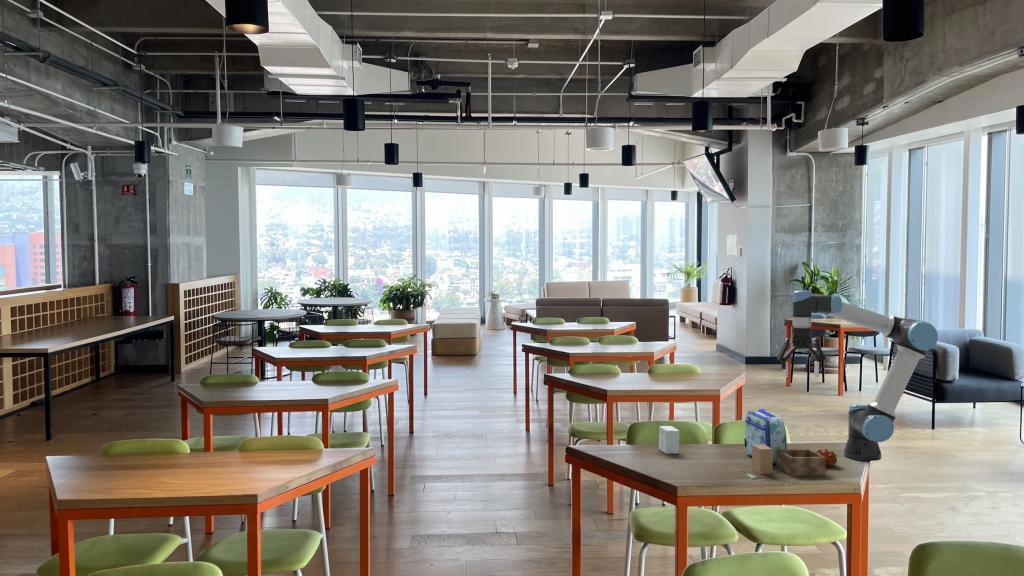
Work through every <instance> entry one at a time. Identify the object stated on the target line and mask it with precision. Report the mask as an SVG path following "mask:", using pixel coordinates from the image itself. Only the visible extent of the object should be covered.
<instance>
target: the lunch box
mask: <svg viewBox="0 0 1024 576" xmlns="http://www.w3.org/2000/svg"><path fill="white" fill-rule="evenodd" d="M746 412H747V413H746V416H745V417H746V418H745V419H744V422H745V423H744V424H745V425H744V426H745V438H744V448H746V452H747V455H748V456H750V457H752V445H763V444H764V445H766V446H768V447H770V448H771V449H772V465H774V464H775V465H776V458H777V450H784V449H787V446H788V445H787V431H786V430H787V429H786V425H785V422H784V419H782V417H780V416H778V415H776V414H775V413H773V412H770V411H767V410H766V409H765V408H759V409H758V410H753V411H752V410H751V411H746Z"/></svg>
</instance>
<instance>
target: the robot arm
mask: <svg viewBox="0 0 1024 576" xmlns="http://www.w3.org/2000/svg"><path fill="white" fill-rule="evenodd" d="M813 314H823V315H827V316H829V317H832V318H836V319H838V320H842V321H845V322H848V323H850V324H854V325H856V326H858V327H863V328H866V329H869V330H872V331H874V332H877V333H880V334H882V336H883V337H885V338H889V339H891V340H893V341H896V342H897V343H896V348H897V352H896V355H895V356H894V359H893V360H892V363H891V364H890V367H889V369H888V370H887V373H886V375H885V377H884V379H883V382H882V384H881V386H880V388H879V389H878V392H877V394H876V396H875V399H874V400H873V401H871V402H869V403H868V404H850V405H849V406H848V411H847V413H848V425H847V426H848V436H847V437H848V438H847V440H846V443H845V446H844V449H843V456H844V457H845V458H847V459H851V460H857V461H863V460H867V461H868V460H869V461H868V462H875V461H880V460H882V451H881V448H880V445H879V443H883V442H885V441H888V440H889V439H890V438H891V437H892V436H893V434H894V431H895V425H894V422H895V420H896V418H897V415H896V412H895V410H896V408H897V406H898V404H899V403H900V400H901V398H902V396H903V394H904V391H905V389H906V387H907V385H908V384H909V381H910V379H911V378H912V375H913V373H914V371H915V369H916V367H917V365H918V363H919V361H920V360H922V359H924V358H926V356H927V354H928V351H929V350H931V349H933V348H934V347H936V345H937V343H938V341H939V334H938V330H937V329H936V327H935V326H934V325H933V324H931V323H930V322H927V321H926V320H917V319H913V318H910V319H909V318H904V317H903V318H902V317H898V316H894V315H891V314H890V315H889V316H888V315H884V314H881V313H878V312H875V311H872V310H869V309H867V308H866V309H865V308H862V307H859V306H857V305H854V304H850V303H847V302H844V301H843V300H842V298H841V296H839V295H834V294H830V295H827V294H819V293H812V291H811V290H795V291H793V293H792V326H793V327H792V329H791V330H792V333H791V335H792V336H791V337H792V338H789V337H788V338H787V337H786V338H785V339H784V343H783V345H782V348H781V349H780V351H779V353H778V356H777V357H776V359H777V360H778V361H780V363H781V369H782V370H783V373H782V374H783V375H782V376H783V377H784V378H788V377H789V375H788V374H789V362H788V359H789V358H790V357H791V356H792V355H793V354H794V352H795V351H797V350H807V351H808V352H809V353H810V355H811V356H812V358H814V359H815V361H814V362H813V363H814V367H813V368H814V369H813V372H814V375H813V377H815V378H819V377H820V370H821V369H822V362H823V361H825V360H826V356H825V353H824V352H823V350H822V347H821V346H820V341H819V338H816V337H813V338H812V328H811V327H812V315H813ZM791 343H792V345H791V346H790V344H791ZM811 344H813V346H814V348H815V350H816V351H815V350H814V348H813V347H812V345H811ZM789 347H790V348H789ZM867 461H866V462H867Z"/></svg>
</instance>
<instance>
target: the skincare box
mask: <svg viewBox="0 0 1024 576" xmlns="http://www.w3.org/2000/svg"><path fill="white" fill-rule="evenodd" d="M658 428H659V429H658V430H659V431H658V434H659V436H658V449H659V450H660V451H661V452H663V453H664V454H667V455H668V454H671V455H672V454H673V455H674V454H680V430H679V429H677V428H676V427H674V426H673V425H672V426H671V425H660V426H659V427H658Z"/></svg>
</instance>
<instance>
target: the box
mask: <svg viewBox="0 0 1024 576" xmlns="http://www.w3.org/2000/svg"><path fill="white" fill-rule="evenodd" d="M816 452H817V451H814V450H812V449H810V448H805V449H804V448H801V449H800V448H799V449H798V448H797V449H793V448H792V449H784V450H777V458H776V464H775V465H776V466H775V467H776V468H778V469H779V470H781V471H783V472H784V473H786V474H788V475H789V476H791V477H795V476H797V477H798V476H800V477H801V476H826V468H825V457H823V456H822V455H820V454H818V453H816Z"/></svg>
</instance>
